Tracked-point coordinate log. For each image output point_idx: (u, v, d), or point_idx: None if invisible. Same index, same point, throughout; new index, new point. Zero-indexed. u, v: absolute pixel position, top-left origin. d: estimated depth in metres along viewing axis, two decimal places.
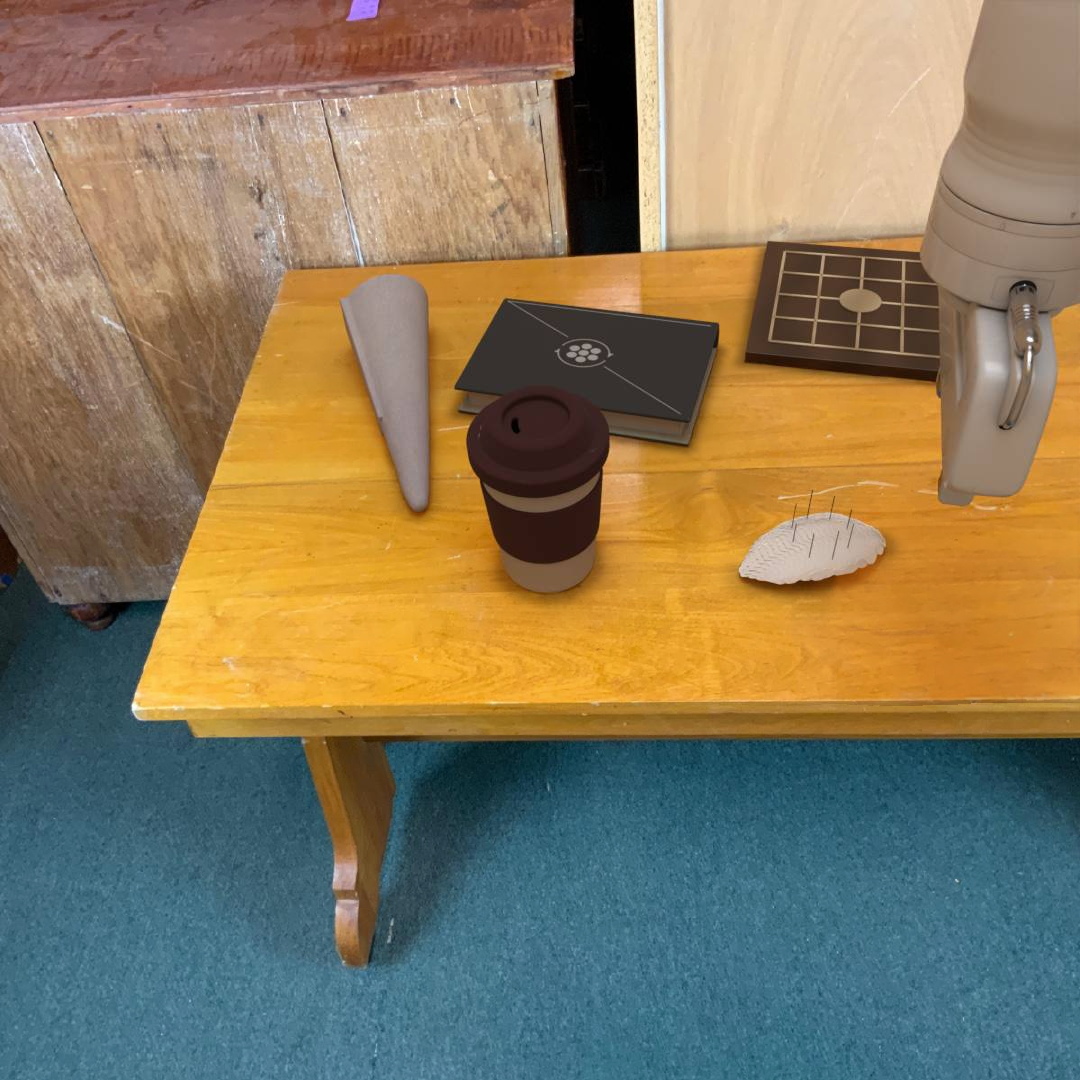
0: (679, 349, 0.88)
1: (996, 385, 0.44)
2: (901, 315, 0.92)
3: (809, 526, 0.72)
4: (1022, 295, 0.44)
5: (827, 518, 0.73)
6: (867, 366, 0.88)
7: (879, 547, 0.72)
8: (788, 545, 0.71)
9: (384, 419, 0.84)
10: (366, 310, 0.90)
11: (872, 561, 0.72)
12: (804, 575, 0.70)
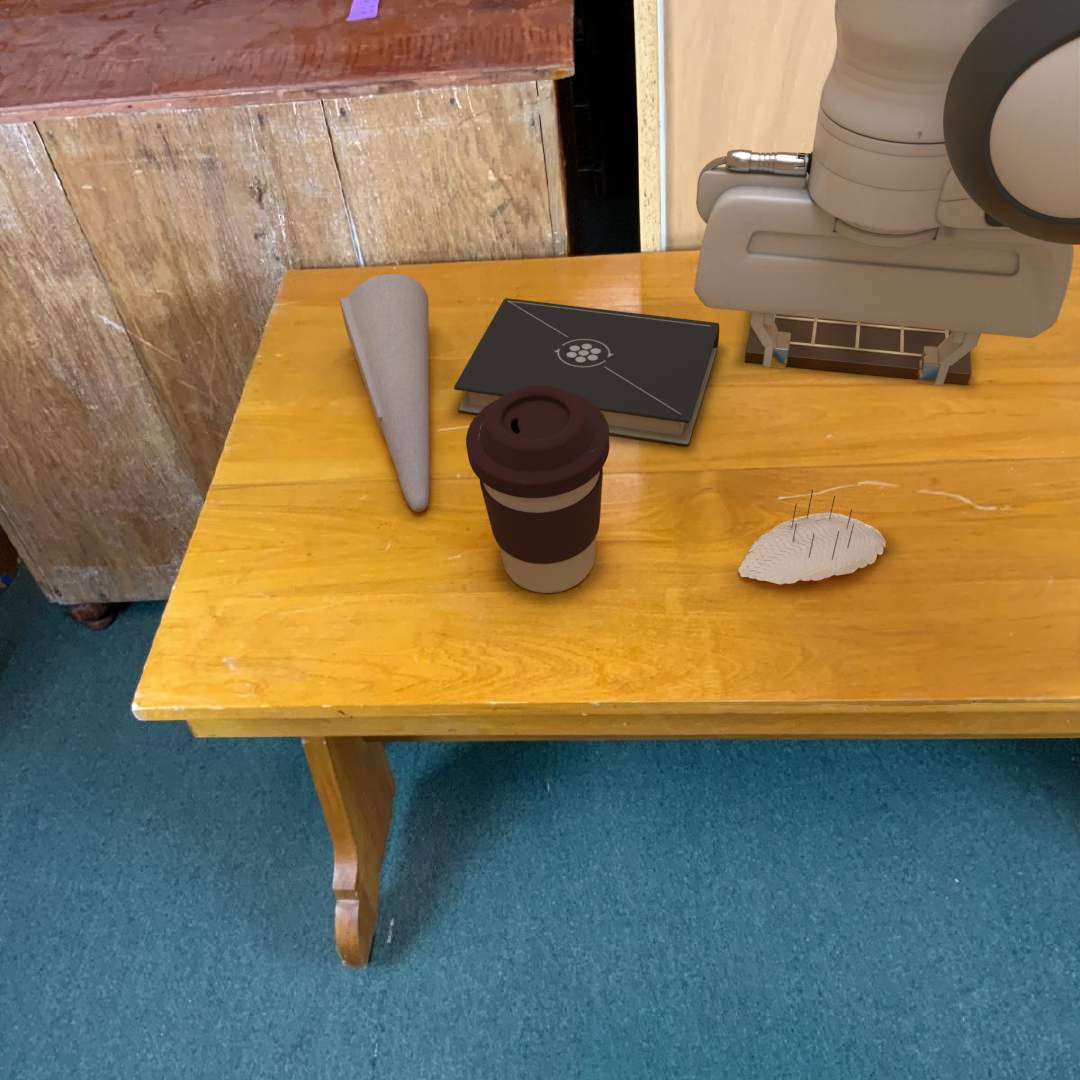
0: (679, 349, 0.88)
1: None
2: None
3: (809, 526, 0.72)
4: None
5: (827, 518, 0.73)
6: (867, 366, 0.88)
7: (879, 547, 0.72)
8: (788, 545, 0.71)
9: (384, 419, 0.84)
10: (366, 310, 0.90)
11: (872, 561, 0.72)
12: (804, 575, 0.70)
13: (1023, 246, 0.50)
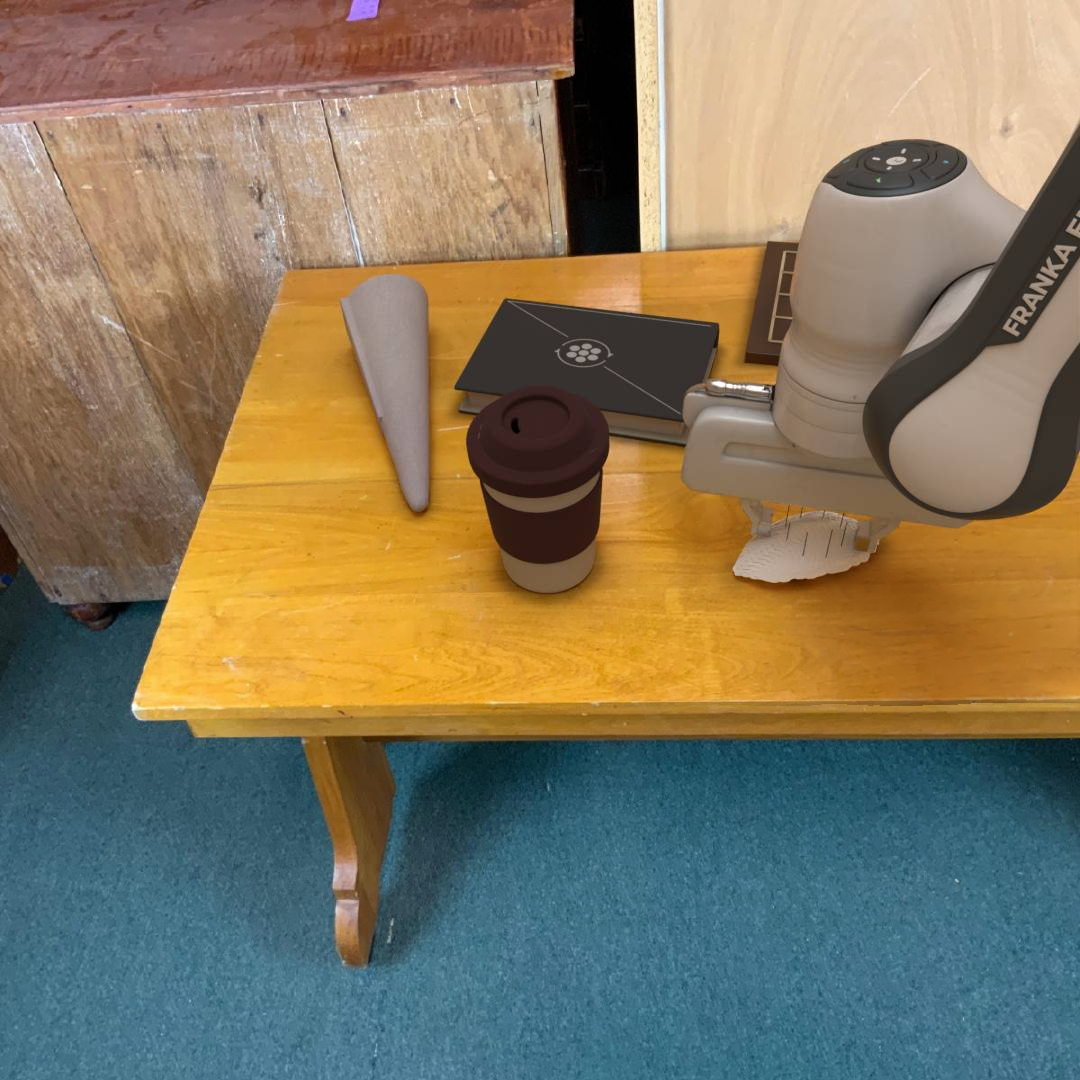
0: (679, 349, 0.88)
1: None
2: None
3: (802, 525, 0.72)
4: (759, 384, 0.63)
5: (820, 516, 0.73)
6: None
7: None
8: (782, 544, 0.72)
9: (384, 419, 0.84)
10: (366, 310, 0.90)
11: (865, 559, 0.72)
12: (798, 573, 0.71)
13: None
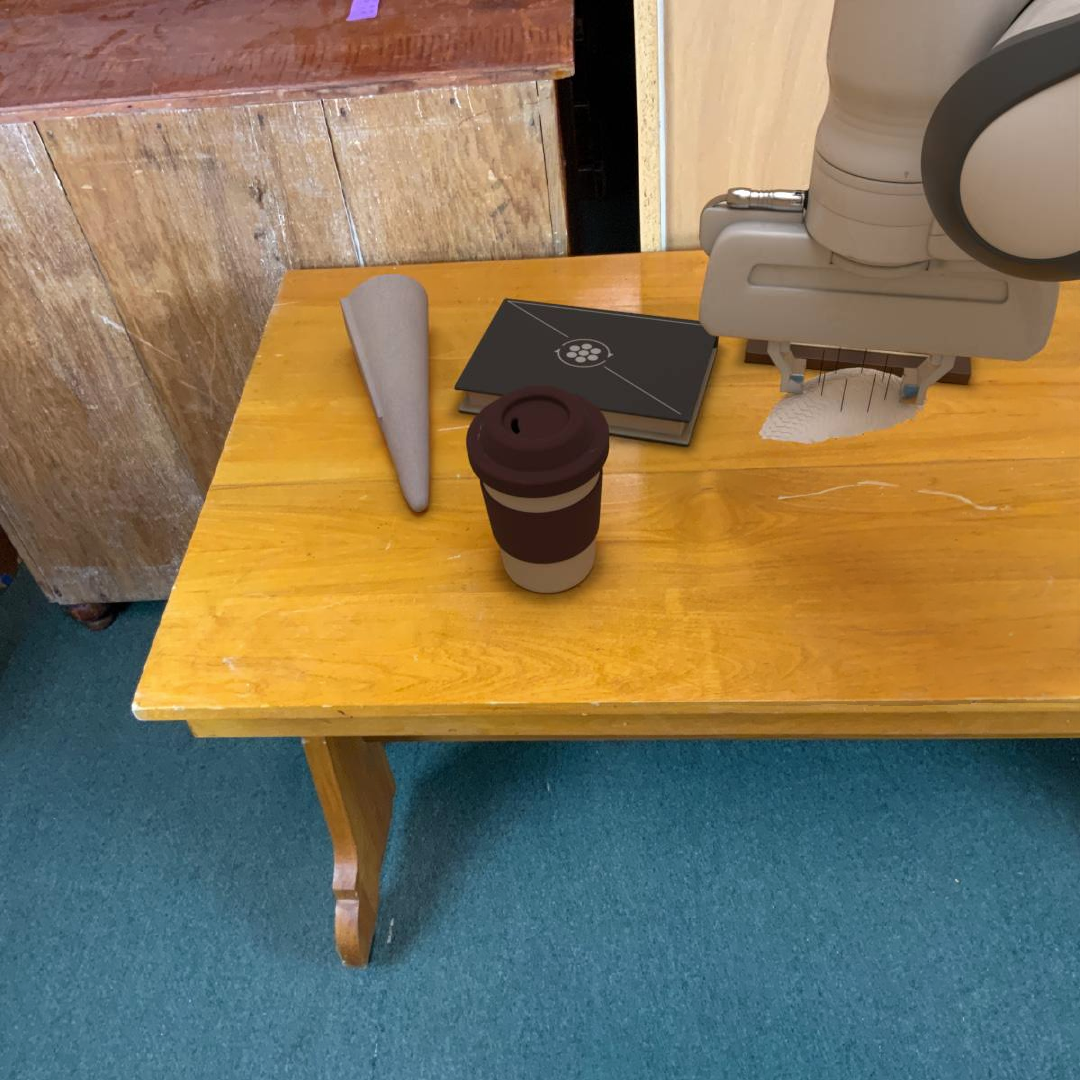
0: (679, 349, 0.88)
1: None
2: None
3: (838, 379, 0.63)
4: (789, 190, 0.54)
5: (859, 372, 0.64)
6: (867, 366, 0.88)
7: None
8: (816, 399, 0.62)
9: (384, 419, 0.84)
10: (366, 310, 0.90)
11: (912, 416, 0.62)
12: (836, 431, 0.61)
13: (1011, 275, 0.52)
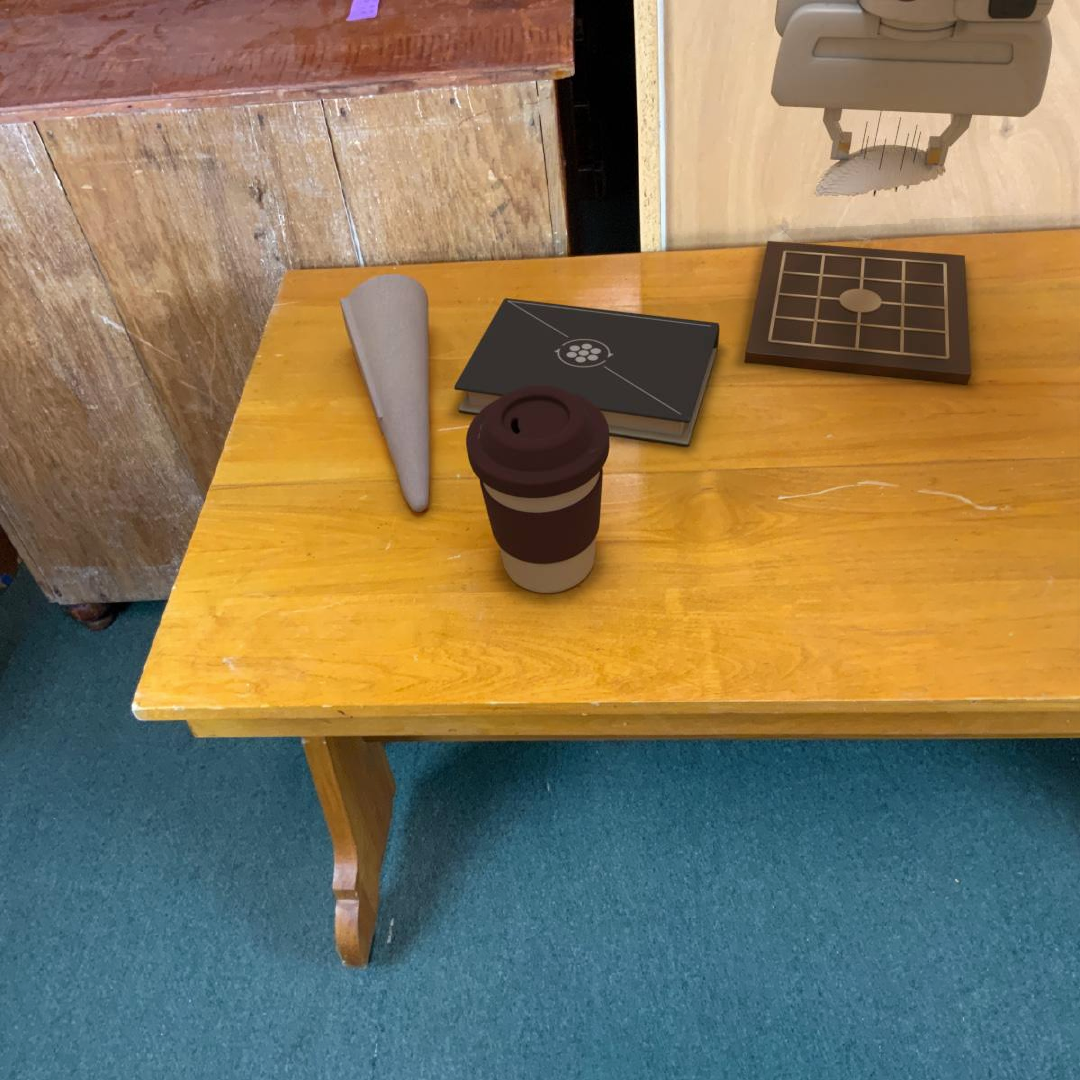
0: (679, 349, 0.88)
1: None
2: (901, 315, 0.92)
3: (877, 149, 0.80)
4: None
5: (892, 145, 0.81)
6: (867, 366, 0.88)
7: (940, 168, 0.80)
8: (860, 162, 0.79)
9: (384, 419, 0.84)
10: (366, 310, 0.90)
11: (935, 177, 0.79)
12: (875, 185, 0.78)
13: (1015, 37, 0.69)
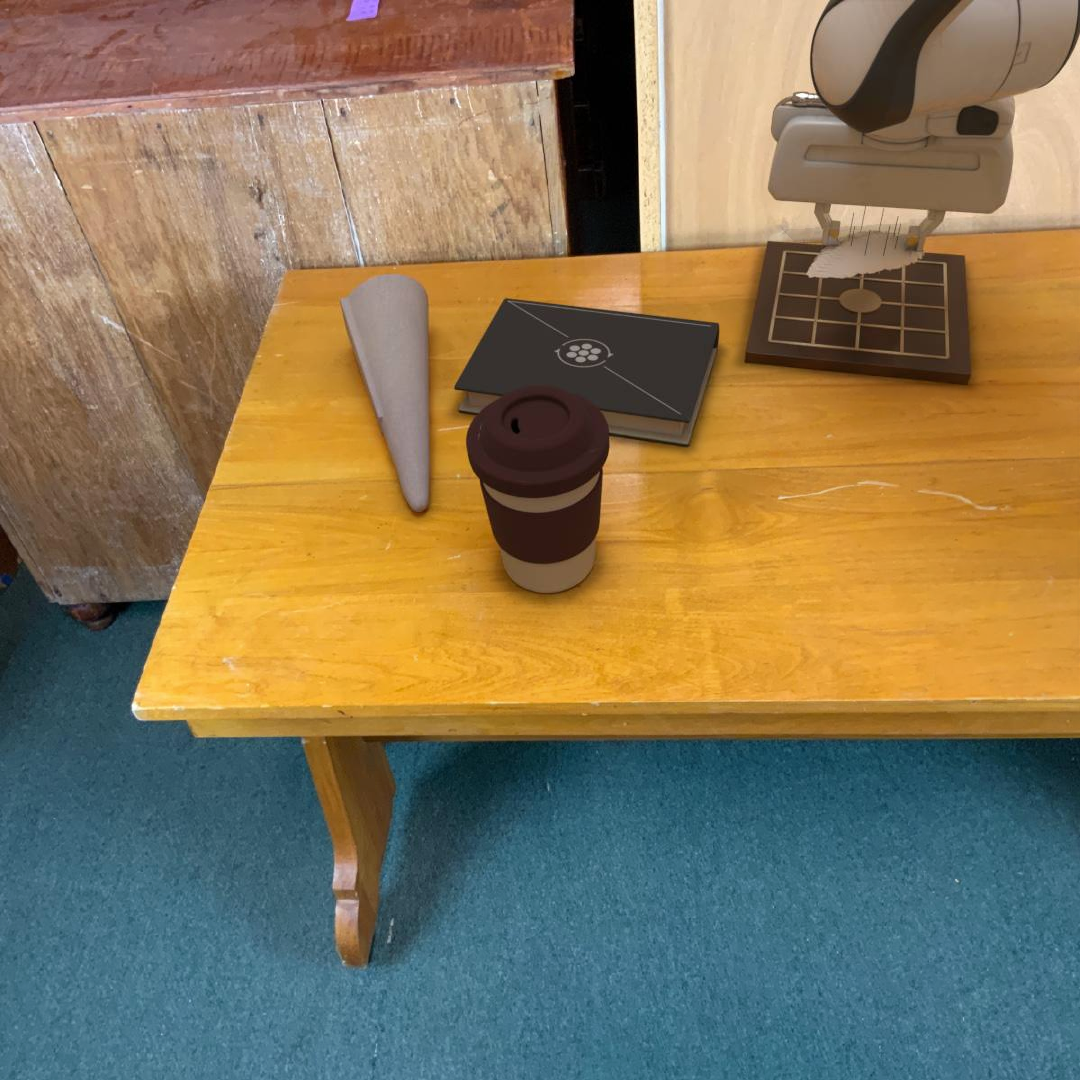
0: (679, 349, 0.88)
1: None
2: (901, 315, 0.92)
3: (863, 236, 0.90)
4: None
5: (877, 231, 0.91)
6: (867, 366, 0.88)
7: (919, 252, 0.90)
8: (847, 248, 0.89)
9: (384, 419, 0.84)
10: (366, 310, 0.90)
11: (914, 261, 0.89)
12: (861, 269, 0.88)
13: (981, 149, 0.79)
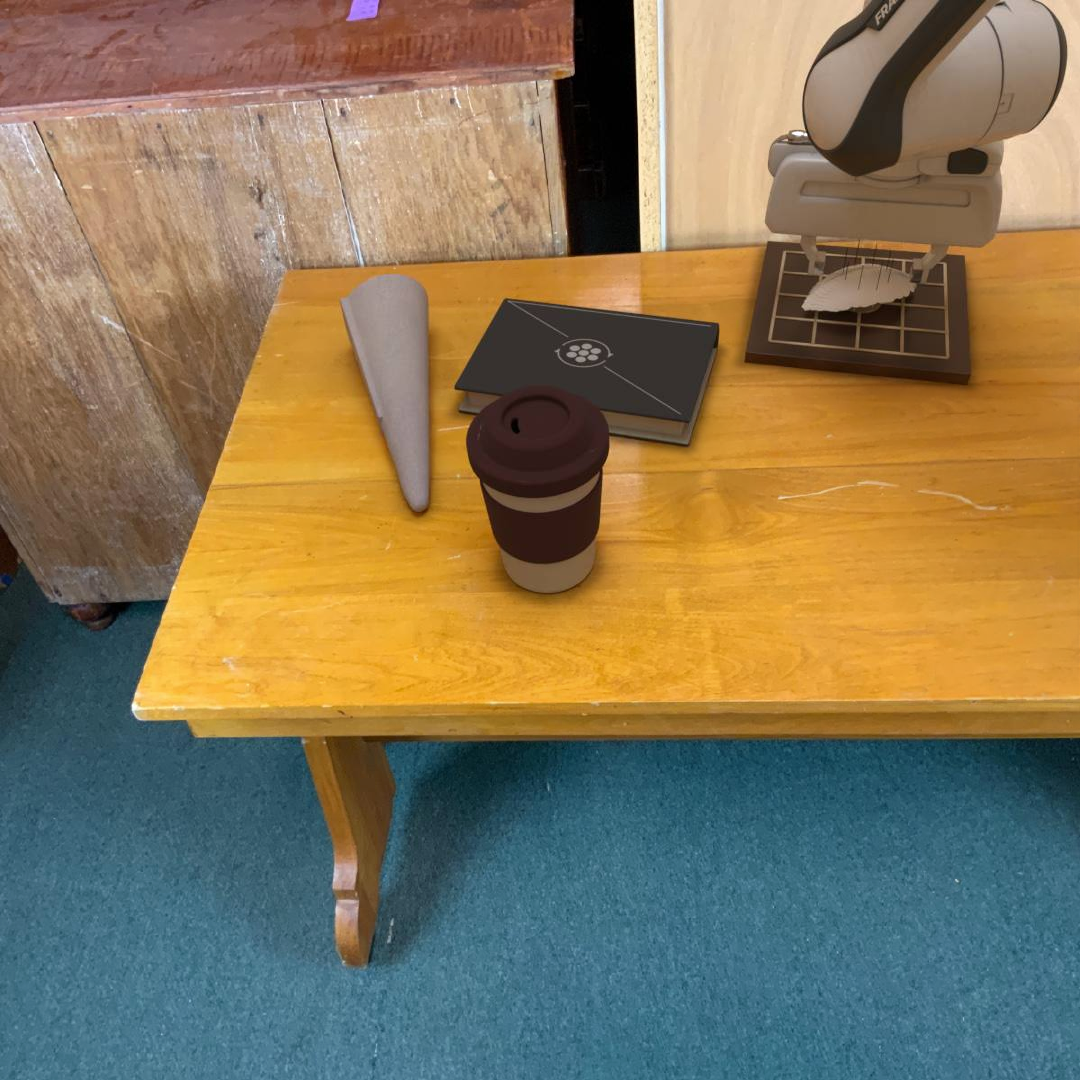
0: (679, 349, 0.88)
1: None
2: (901, 315, 0.92)
3: (856, 269, 0.92)
4: None
5: (870, 265, 0.93)
6: (867, 366, 0.88)
7: (911, 286, 0.93)
8: (841, 282, 0.92)
9: (384, 419, 0.84)
10: (366, 310, 0.90)
11: (906, 294, 0.92)
12: (855, 303, 0.91)
13: (971, 187, 0.81)
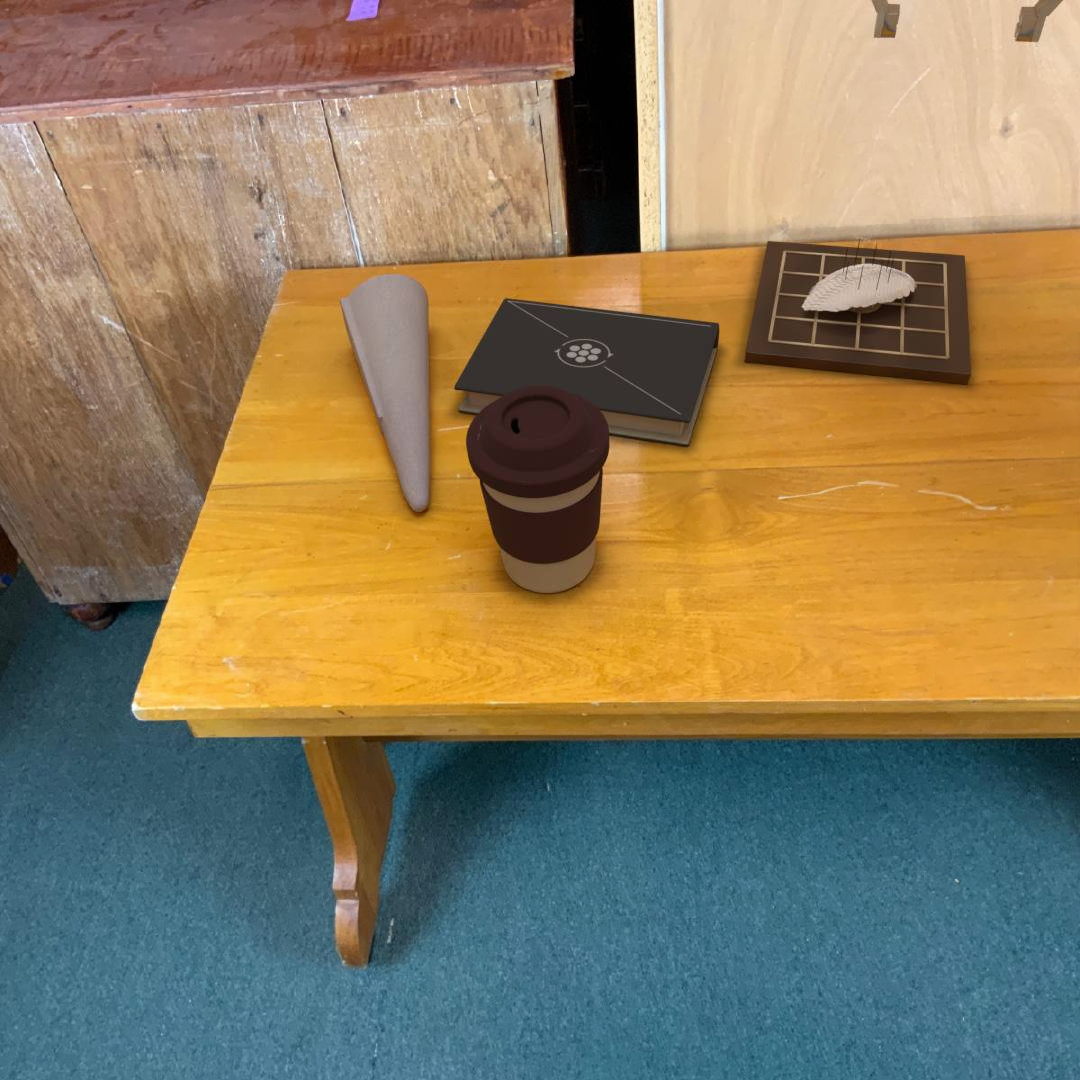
0: (679, 349, 0.88)
1: None
2: (901, 315, 0.92)
3: (856, 269, 0.92)
4: None
5: (870, 265, 0.93)
6: (867, 366, 0.88)
7: (911, 286, 0.93)
8: (841, 282, 0.92)
9: (384, 419, 0.84)
10: (366, 310, 0.90)
11: (906, 294, 0.92)
12: (855, 303, 0.91)
13: None
